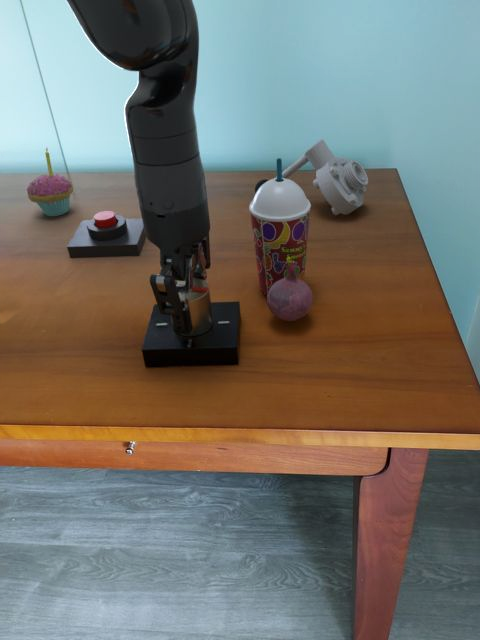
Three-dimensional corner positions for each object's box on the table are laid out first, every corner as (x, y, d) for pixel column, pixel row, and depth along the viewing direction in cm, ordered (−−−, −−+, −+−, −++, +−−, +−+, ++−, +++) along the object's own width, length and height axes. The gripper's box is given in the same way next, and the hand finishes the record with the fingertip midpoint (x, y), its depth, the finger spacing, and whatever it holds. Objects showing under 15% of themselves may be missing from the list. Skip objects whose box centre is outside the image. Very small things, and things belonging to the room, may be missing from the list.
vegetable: (317, 313, 75) (320, 251, 69) (303, 338, 71) (303, 275, 65) (278, 305, 77) (277, 244, 71) (261, 329, 73) (258, 266, 67)
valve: (304, 238, 112) (261, 179, 109) (381, 187, 100) (336, 119, 96) (287, 258, 105) (240, 195, 101) (368, 205, 92) (319, 132, 89)
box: (70, 258, 90) (63, 237, 88) (85, 231, 98) (79, 211, 96) (139, 255, 90) (135, 234, 88) (149, 228, 98) (145, 208, 95)
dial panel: (145, 367, 68) (140, 348, 66) (157, 321, 75) (153, 302, 73) (238, 364, 67) (236, 345, 65) (240, 318, 75) (239, 300, 73)
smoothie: (293, 311, 76) (293, 175, 63) (244, 297, 79) (234, 165, 66) (317, 282, 81) (322, 153, 69) (270, 270, 85) (266, 144, 72)
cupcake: (56, 199, 110) (38, 141, 102) (88, 206, 107) (71, 146, 99) (25, 217, 104) (4, 156, 96) (58, 224, 101) (38, 161, 93)
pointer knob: (166, 334, 68) (159, 296, 64) (180, 310, 72) (174, 273, 68) (206, 338, 67) (201, 300, 63) (218, 313, 71) (214, 277, 67)
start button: (93, 229, 90) (91, 220, 89) (98, 220, 93) (96, 211, 92) (114, 229, 90) (112, 219, 89) (119, 219, 93) (116, 210, 92)
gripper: (164, 168, 64) (183, 285, 75) (112, 222, 53) (143, 349, 64) (223, 171, 62) (234, 290, 73) (181, 227, 52) (201, 357, 63)
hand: (191, 317), depth 69 cm, fingers closed on pointer knob, 5 cm apart
